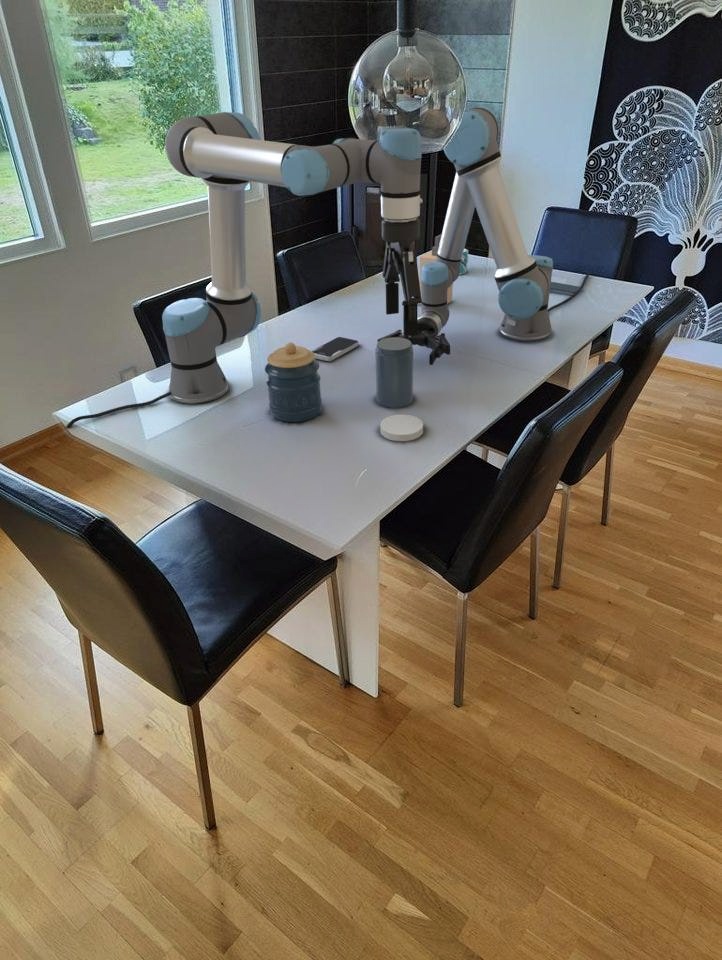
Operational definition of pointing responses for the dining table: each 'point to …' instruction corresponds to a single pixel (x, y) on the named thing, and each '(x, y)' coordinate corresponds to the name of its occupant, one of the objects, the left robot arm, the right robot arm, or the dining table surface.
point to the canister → (293, 384)
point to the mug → (464, 261)
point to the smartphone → (334, 348)
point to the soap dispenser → (432, 258)
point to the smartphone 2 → (564, 288)
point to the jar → (394, 372)
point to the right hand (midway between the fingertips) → (405, 357)
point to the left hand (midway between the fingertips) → (400, 323)
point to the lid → (401, 427)
